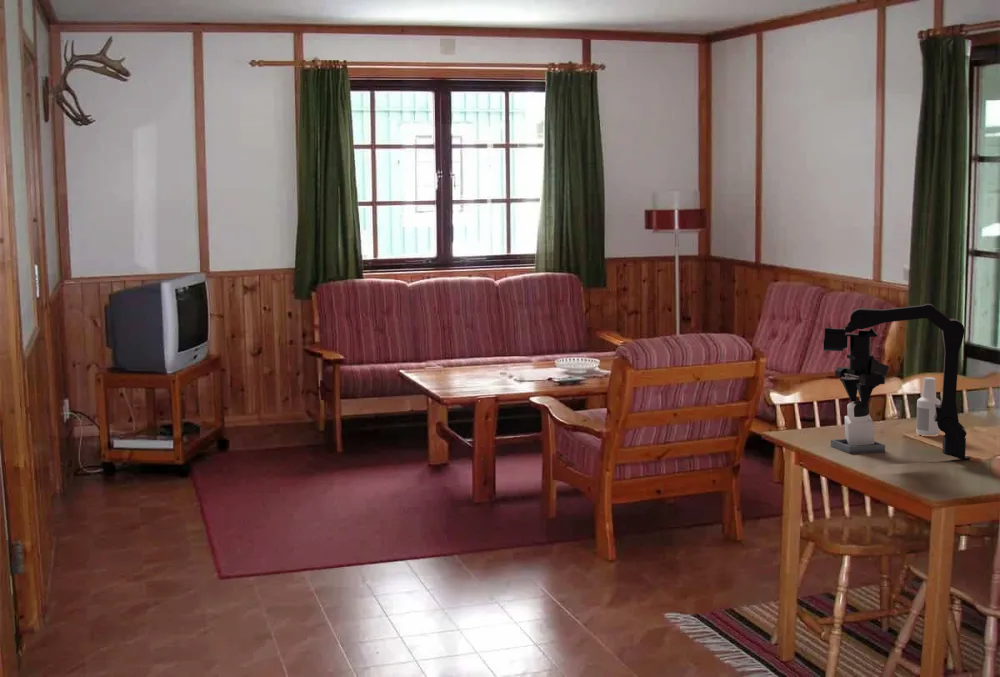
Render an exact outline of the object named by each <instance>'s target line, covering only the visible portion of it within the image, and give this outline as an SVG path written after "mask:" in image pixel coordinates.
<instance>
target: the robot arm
mask: <svg viewBox="0 0 1000 677" xmlns="http://www.w3.org/2000/svg"><path fill="white" fill-rule="evenodd" d="M849 318H850V321H849V322H848V323H847V324H845V325H844V328H836V327H834V328H832V327H825V328H824V338H823V351H824V352H844V349H848V343H849V354H846V358H847V359H849V366H838V367H837V368H836V369H835V370H834V371H835V372H834V377H837V378H839V381H840V382H841V384H842V385H843V388H844V389H845V392H846V394H847V396H848V397H849V398H848V399H849V400H850V402H853V401H857V396H859V401H861V404H862V406H863V407H866V406H867V403H868V404H869V400H870V398H871V394H872V392H873V390H874V389H875V388H877V387H878V386H880V385H885V384H886V377H887V375H888V372H889V369H890V366H889V365H888V364H887V365H886V364H884V363H881V362H879V360H878V359H876V358H875V357H874V355H872V354H871V345H872V344H871V340H872V339H871V338H877V337H878V333H877V332H876V331H875V330H874V328H873V327H875V326H878V325H881V324H885V323H893V322H895V323H896V322H900V321H901V322H902V321H912V320H920V319H927V320H928V321H930V322H931V323H932V324H933V325H935V326H936V327H937V328H938V329H940V330H941V332H942V334H941V335H942V341H943V348H944V359H943V372H942V373H943V375H942V390H941V391H942V393H941V400H940V401H941V403H940V405H937V404H935V410H936V413H935V416H934V419H935V422H936V421H937V425H938V428H939V429H940V432H942V433H944V434H943V435H942V452H941V453H943V454H944V455H946V456H947V455H948V456H951V457H954V458H957V459H958V460H970V459H971V457H969V456H967V455H966V450H967V449H966V446H967V443H966V442H967V438H966V436H967V434H968V433H967V431H966V428H965V427H964V426H963V425H962V424H961V423H960V422H959V413H958V406H957V388H958V387H957V385H958V373H959V372H958V370H959V354H960V350H961V347H962V343H963V341H964V337H965V332H966V331H965V327H964V324H963V323H962V322H961V320H958V319H957V318H950V317H948V316H947V315H946V314H944V313H943V312H942V311H940V310H939V309H937V308H936V307H935V306H934V305H933V304H931V303H924V304H922V305H920V304H919V305H913V306H912V305H911V306H903V307H893V308H884V309H883V308H881V309H880V308H879V309H878V308H871V307H870V308H867V307H859V308H856V309H854V310H853V311H852V313H851V315H850V317H849ZM869 328H870V329H869ZM865 329H868V330H865ZM856 330H857V331H858V333H853V332H855V331H856ZM848 337H849V338H848ZM848 340H849V342H848Z"/></svg>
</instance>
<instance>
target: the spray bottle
mask: <svg viewBox="0 0 1000 677" xmlns="http://www.w3.org/2000/svg"><path fill="white" fill-rule="evenodd" d="M940 403H941V400H940V399H939V398H938V397H937V384H936V377H929V376H928V377H927V376H926V377H923V383H922V392H921V397H919V398H918V399H917V402H916V423H915V424H916V426H915V428H916V432H915V433H917V434H921V435H923V434H924V435H936V434H939V433H940V434H941V430H940V429H939V428H938V425H937V421H936V422H935V419H934V416H935V413H936V410H935V404H937V405H940ZM917 434H916V435H917Z"/></svg>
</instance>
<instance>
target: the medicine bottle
mask: <svg viewBox="0 0 1000 677" xmlns="http://www.w3.org/2000/svg"><path fill="white" fill-rule="evenodd" d="M846 406H847V407H846V408H847V415H845V416H844V435H845V439H846V440H847V442H848V444H849V446H861V445H874V441H875V433H874V432H875V430H874V421H873V419H872V418H871V415H870V405H869V402H868V403H867V406H866V407H863V406H862V404H861V400H856V401H853V402H851V401H850V402H849V403H847V405H846Z"/></svg>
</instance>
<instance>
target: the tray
mask: <svg viewBox="0 0 1000 677" xmlns="http://www.w3.org/2000/svg"><path fill="white" fill-rule="evenodd" d="M830 448H834V449H836V450H838V451H842V452H844V453H847V454H869V453H872V454H873V453H885V452H886V444H883V443H882V442H878V441H876V440H874V445H861V446H849V444H848V442H847V440H846V438H842V439H841V438H837V439H830Z"/></svg>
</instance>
